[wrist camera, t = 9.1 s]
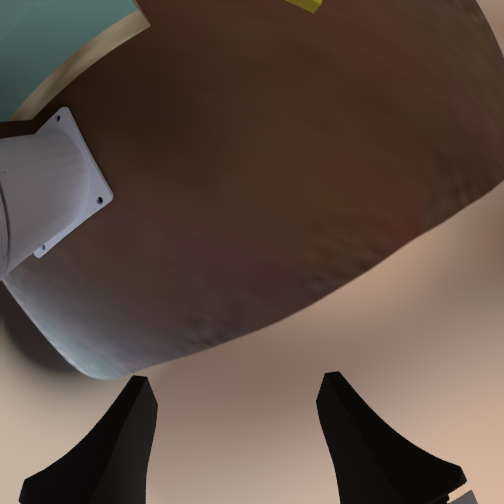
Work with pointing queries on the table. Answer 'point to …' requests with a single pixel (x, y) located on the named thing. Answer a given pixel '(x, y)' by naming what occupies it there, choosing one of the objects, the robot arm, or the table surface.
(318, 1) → the flat olive board
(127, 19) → the socket block
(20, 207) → the robot arm
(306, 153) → the table surface
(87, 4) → the teal block
